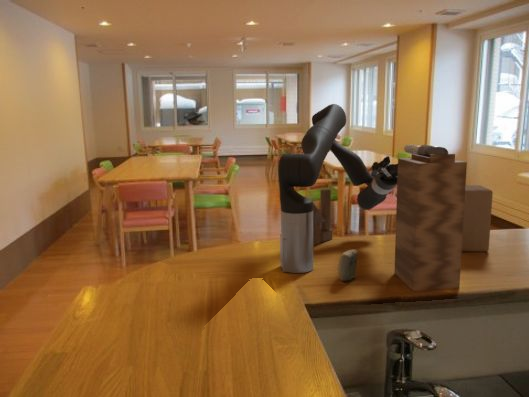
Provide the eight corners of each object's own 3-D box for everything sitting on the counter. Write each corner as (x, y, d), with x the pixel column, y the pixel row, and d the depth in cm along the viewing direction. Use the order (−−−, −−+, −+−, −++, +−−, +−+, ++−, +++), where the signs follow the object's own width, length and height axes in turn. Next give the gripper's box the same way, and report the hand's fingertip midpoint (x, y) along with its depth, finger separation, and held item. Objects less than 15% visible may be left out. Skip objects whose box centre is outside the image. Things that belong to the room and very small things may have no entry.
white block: (358, 283, 119) (359, 254, 118) (338, 283, 120) (338, 254, 118) (356, 276, 125) (356, 248, 123) (337, 275, 125) (337, 248, 124)
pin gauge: (432, 161, 109) (435, 146, 108) (401, 154, 130) (403, 141, 129) (447, 162, 109) (449, 147, 109) (413, 155, 130) (415, 142, 129)
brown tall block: (413, 291, 114) (418, 155, 107) (394, 273, 126) (398, 150, 120) (459, 288, 114) (467, 153, 108) (436, 271, 127) (442, 149, 121)
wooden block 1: (306, 243, 157) (305, 192, 154) (324, 237, 165) (324, 188, 161) (314, 245, 154) (314, 193, 151) (332, 239, 162) (333, 189, 159)
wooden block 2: (478, 243, 153) (482, 185, 149) (489, 252, 143) (494, 189, 139) (447, 243, 154) (450, 185, 150) (456, 252, 144) (460, 190, 140)
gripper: (362, 169, 149) (377, 147, 133) (405, 168, 150) (424, 146, 134) (365, 191, 146) (381, 171, 131) (408, 189, 147) (428, 169, 132)
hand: (403, 158), depth 133 cm, fingers open, 8 cm apart
